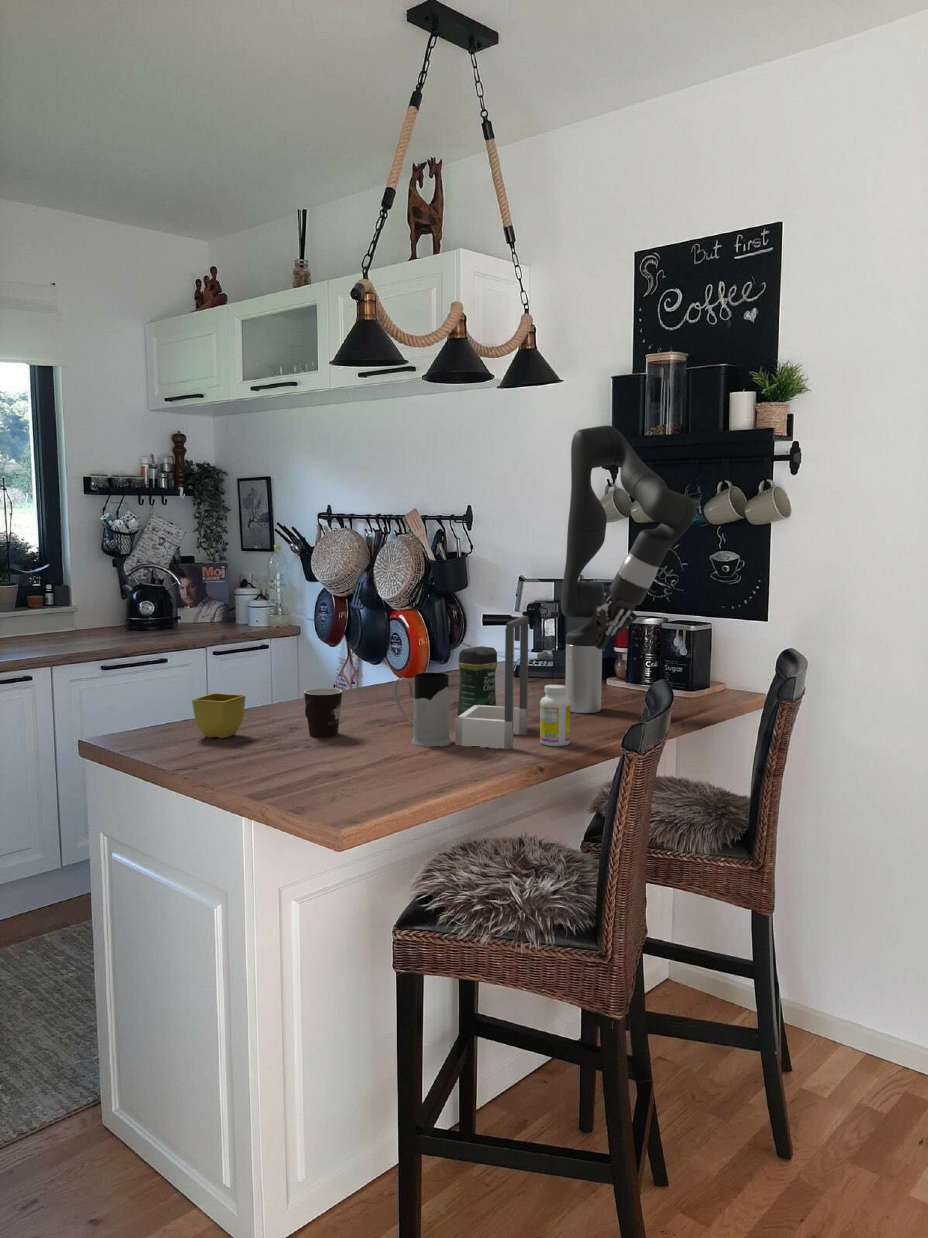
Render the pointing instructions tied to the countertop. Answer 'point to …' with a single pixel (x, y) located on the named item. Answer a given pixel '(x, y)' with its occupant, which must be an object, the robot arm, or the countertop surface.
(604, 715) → the countertop surface
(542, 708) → the supplement bottle
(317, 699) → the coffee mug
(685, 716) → the countertop surface
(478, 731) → the bay
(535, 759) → the countertop surface
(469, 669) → the coffee jar
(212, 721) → the flower pot
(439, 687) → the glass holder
